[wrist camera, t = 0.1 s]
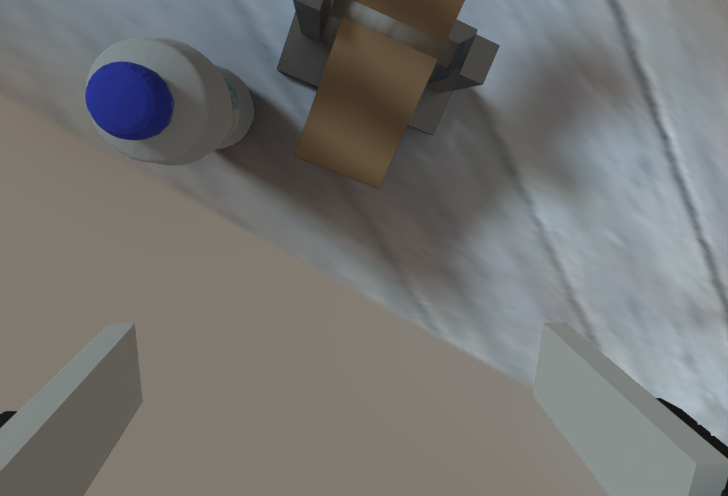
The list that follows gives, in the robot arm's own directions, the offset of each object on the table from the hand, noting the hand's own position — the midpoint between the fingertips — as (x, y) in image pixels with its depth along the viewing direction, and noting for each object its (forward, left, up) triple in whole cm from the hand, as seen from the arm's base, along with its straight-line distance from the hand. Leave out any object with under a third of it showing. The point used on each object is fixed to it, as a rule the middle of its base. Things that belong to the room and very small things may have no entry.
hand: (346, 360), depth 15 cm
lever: (-15, +4, -23) cm, 28 cm away
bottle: (-8, -9, -28) cm, 31 cm away
